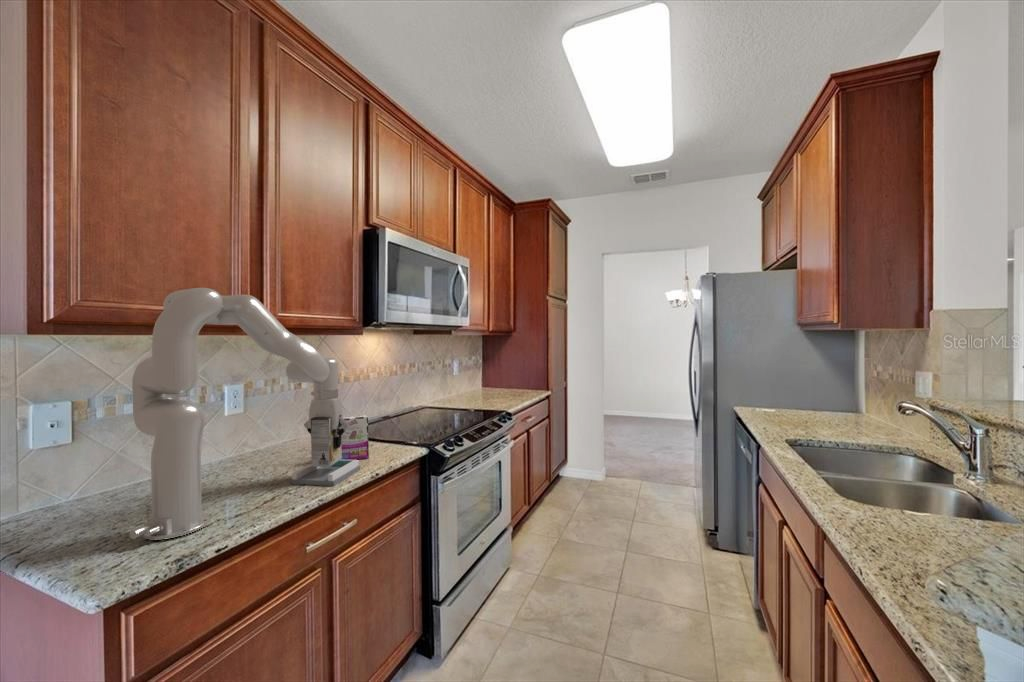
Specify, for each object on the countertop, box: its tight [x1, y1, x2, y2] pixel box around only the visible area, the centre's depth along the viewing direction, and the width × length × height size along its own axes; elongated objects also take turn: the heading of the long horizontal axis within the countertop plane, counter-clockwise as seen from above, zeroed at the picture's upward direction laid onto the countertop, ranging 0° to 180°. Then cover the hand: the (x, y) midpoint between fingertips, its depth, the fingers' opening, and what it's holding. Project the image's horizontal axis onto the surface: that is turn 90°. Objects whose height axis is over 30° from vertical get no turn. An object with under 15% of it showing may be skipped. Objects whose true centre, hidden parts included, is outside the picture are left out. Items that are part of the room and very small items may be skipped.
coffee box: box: [310, 417, 342, 467], centre depth 137 cm, size 9×6×16 cm
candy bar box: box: [341, 414, 370, 460], centre depth 157 cm, size 11×5×16 cm, turn 115°
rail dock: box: [290, 459, 361, 487], centre depth 137 cm, size 16×15×4 cm
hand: (326, 447), depth 137 cm, fingers closed on coffee box, 6 cm apart
